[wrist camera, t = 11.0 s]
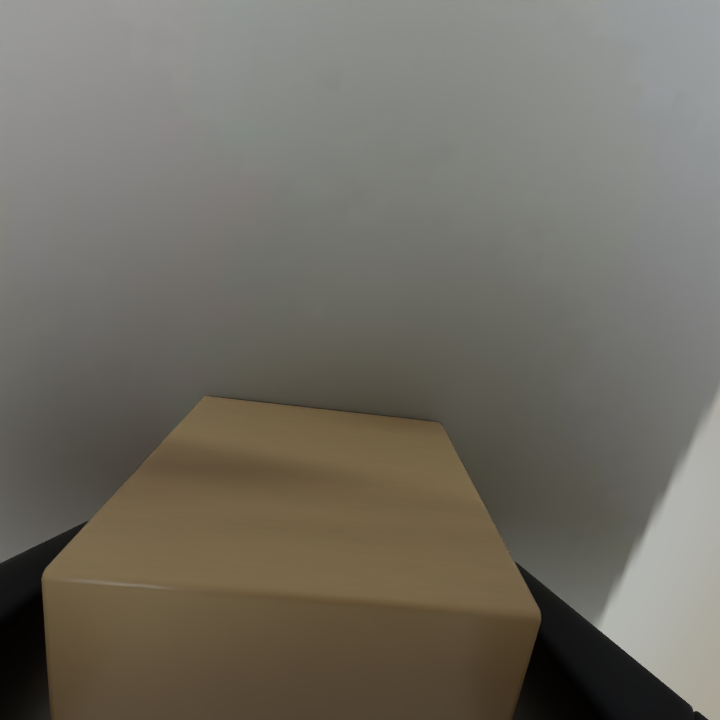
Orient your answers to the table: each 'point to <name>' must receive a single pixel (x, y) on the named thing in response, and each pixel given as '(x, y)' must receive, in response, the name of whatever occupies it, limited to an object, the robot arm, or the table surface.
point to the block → (289, 579)
